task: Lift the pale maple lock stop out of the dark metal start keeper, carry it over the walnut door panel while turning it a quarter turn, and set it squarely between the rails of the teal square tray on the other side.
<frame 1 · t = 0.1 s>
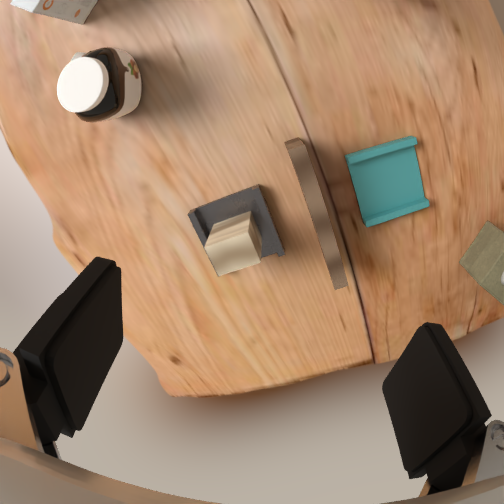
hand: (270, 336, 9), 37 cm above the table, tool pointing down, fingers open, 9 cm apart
start keeper: (237, 229, 48), on the table
door panel: (313, 203, 45), on the table
tissue box: (494, 261, 49), on the table
lock stop: (237, 230, 48), resting on start keeper
spread jar: (109, 83, 38), on the table
teal square tray: (387, 179, 43), on the table
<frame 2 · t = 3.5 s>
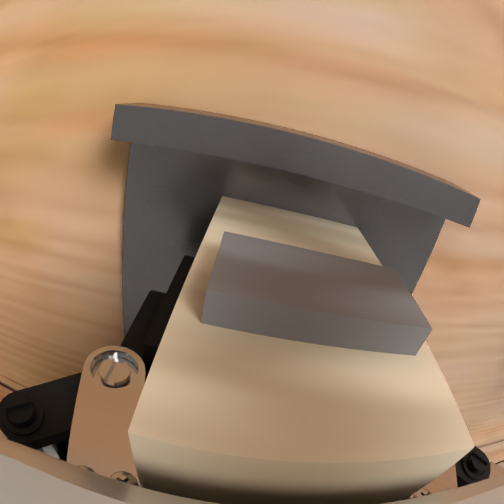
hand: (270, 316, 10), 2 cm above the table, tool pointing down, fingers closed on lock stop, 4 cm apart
start keeper: (270, 285, 12), on the table
lock stop: (270, 289, 11), resting on start keeper, touching gripper
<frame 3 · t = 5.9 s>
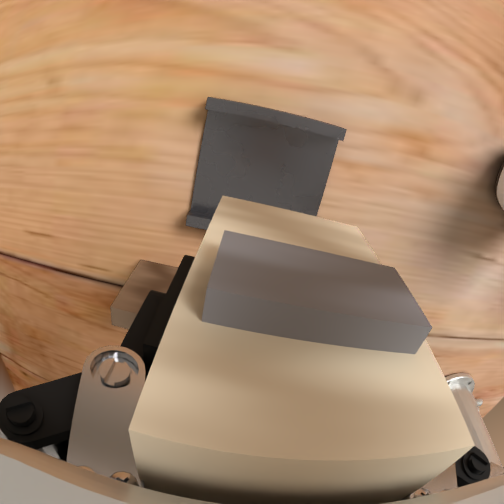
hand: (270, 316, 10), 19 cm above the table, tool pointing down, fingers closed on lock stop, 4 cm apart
start keeper: (262, 172, 26), on the table
door panel: (235, 288, 32), on the table
lock stop: (270, 289, 11), point 17 cm above the table, touching gripper
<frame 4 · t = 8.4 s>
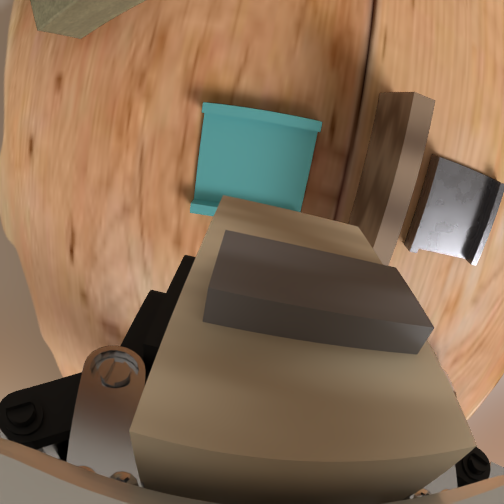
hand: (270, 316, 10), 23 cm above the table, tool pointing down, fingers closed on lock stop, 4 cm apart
start keeper: (454, 211, 31), on the table
door panel: (367, 187, 31), on the table
lock stop: (270, 288, 11), point 22 cm above the table, touching gripper
teal square tray: (253, 163, 30), on the table
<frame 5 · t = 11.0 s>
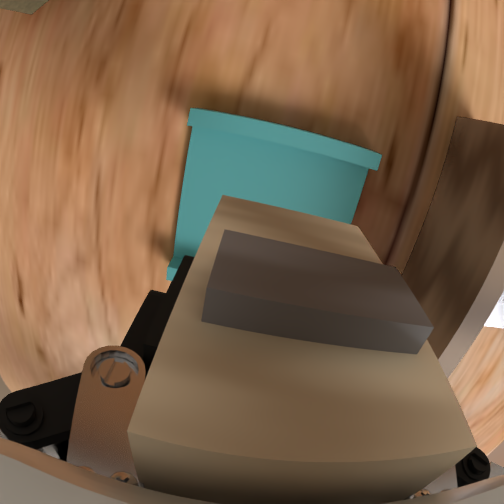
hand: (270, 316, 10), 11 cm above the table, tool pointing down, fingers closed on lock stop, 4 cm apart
door panel: (424, 249, 21), on the table
lock stop: (270, 288, 11), point 10 cm above the table, touching gripper
teal square tray: (266, 210, 20), on the table
when the fingers open (3 cm above the table, at t = 13.4 s): lock stop stays where it is, resting on teal square tray.
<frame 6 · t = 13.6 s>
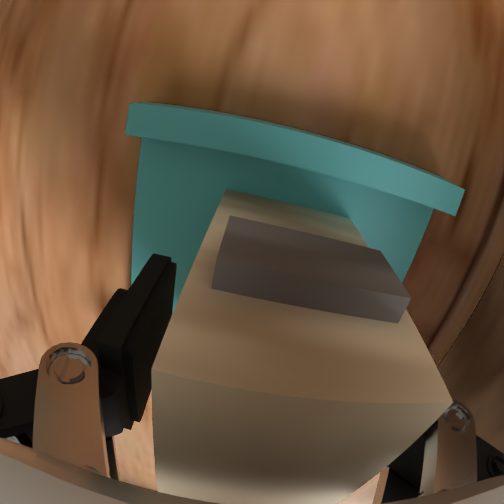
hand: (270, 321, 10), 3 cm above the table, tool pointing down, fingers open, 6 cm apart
door panel: (485, 313, 13), on the table
lock stop: (269, 276, 12), resting on teal square tray
teal square tray: (269, 271, 12), on the table
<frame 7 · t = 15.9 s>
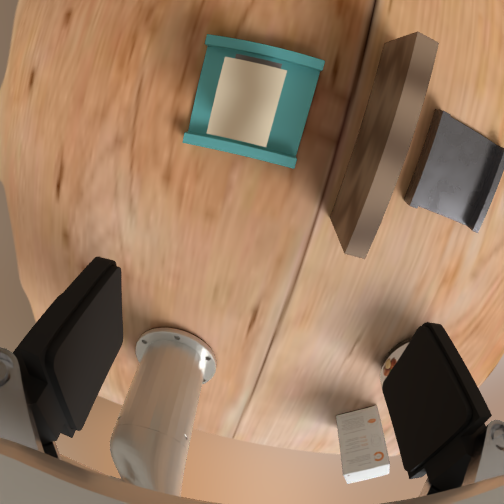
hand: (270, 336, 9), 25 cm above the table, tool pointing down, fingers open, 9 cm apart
start keeper: (457, 172, 29), on the table
door panel: (368, 133, 29), on the table
lock stop: (252, 99, 28), resting on teal square tray
spread jar: (409, 360, 44), on the table
teal square tray: (252, 99, 28), on the table
small box: (357, 416, 52), on the table
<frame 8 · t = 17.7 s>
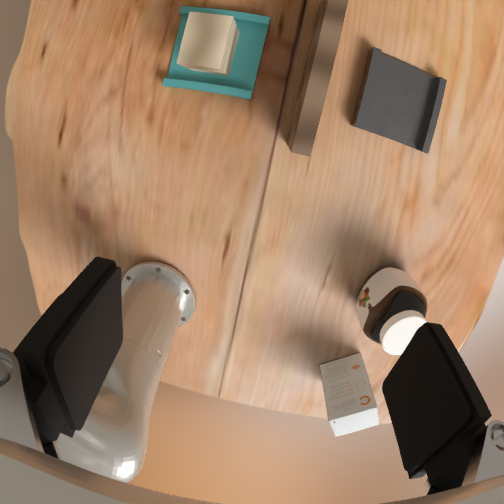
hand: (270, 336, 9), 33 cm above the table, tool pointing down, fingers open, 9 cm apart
start keeper: (398, 100, 34), on the table
door panel: (312, 71, 34), on the table
lock stop: (216, 51, 33), resting on teal square tray
spread jar: (385, 296, 48), on the table
teal square tray: (216, 51, 33), on the table
small box: (342, 367, 55), on the table
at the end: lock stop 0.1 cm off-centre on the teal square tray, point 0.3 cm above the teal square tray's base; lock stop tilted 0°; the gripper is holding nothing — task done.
